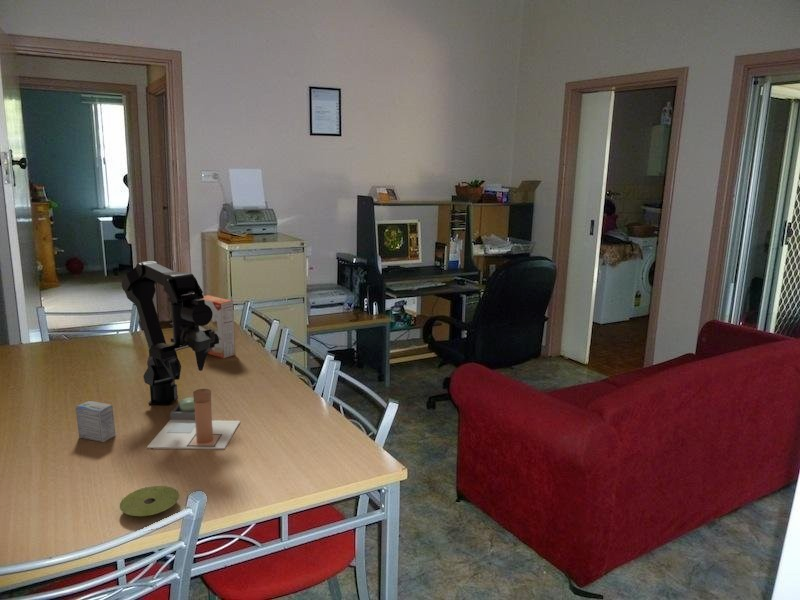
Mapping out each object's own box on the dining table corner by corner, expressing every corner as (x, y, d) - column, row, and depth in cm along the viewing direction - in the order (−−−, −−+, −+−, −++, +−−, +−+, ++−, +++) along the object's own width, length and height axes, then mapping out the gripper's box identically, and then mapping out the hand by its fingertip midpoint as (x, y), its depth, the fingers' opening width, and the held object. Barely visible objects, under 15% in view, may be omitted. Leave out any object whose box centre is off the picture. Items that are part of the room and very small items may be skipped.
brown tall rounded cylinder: (192, 442, 150) (189, 393, 147) (202, 435, 154) (199, 387, 151) (207, 444, 149) (204, 396, 146) (216, 437, 153) (214, 389, 150)
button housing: (170, 421, 163) (169, 412, 163) (180, 409, 171) (179, 401, 170) (199, 421, 163) (199, 413, 163) (208, 409, 171) (208, 401, 170)
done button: (177, 414, 164) (176, 404, 164) (183, 407, 169) (183, 397, 168) (195, 414, 164) (195, 404, 164) (201, 407, 169) (200, 397, 169)
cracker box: (198, 352, 222) (195, 297, 217) (211, 348, 227) (208, 294, 222) (222, 359, 214) (220, 302, 210) (236, 355, 219) (233, 299, 214)
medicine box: (116, 435, 154) (113, 404, 152) (102, 443, 150) (99, 411, 148) (92, 431, 156) (89, 399, 154) (78, 438, 152) (74, 406, 150)
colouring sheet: (147, 448, 147) (146, 446, 147) (170, 421, 163) (170, 419, 163) (224, 449, 148) (224, 447, 148) (240, 422, 163) (240, 420, 163)
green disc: (138, 491, 128) (137, 483, 128) (189, 495, 127) (188, 487, 127) (108, 522, 117) (108, 513, 117) (163, 526, 116) (163, 517, 116)
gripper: (172, 331, 149) (176, 390, 152) (230, 316, 164) (234, 371, 167) (145, 325, 155) (150, 382, 158) (204, 311, 170) (207, 364, 173)
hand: (187, 374), depth 164 cm, fingers open, 8 cm apart
